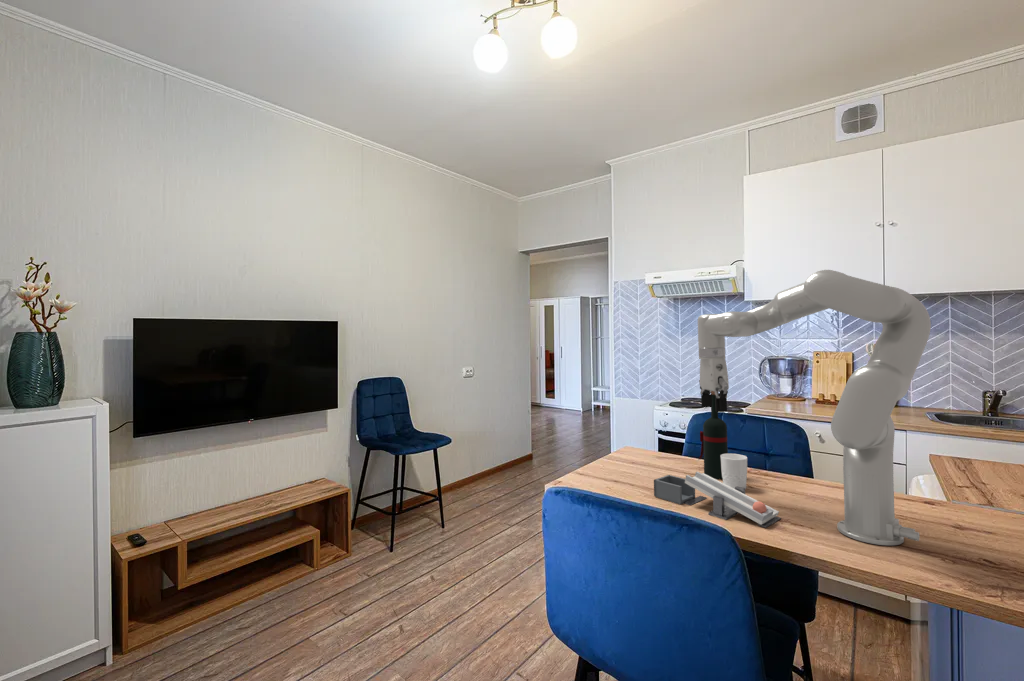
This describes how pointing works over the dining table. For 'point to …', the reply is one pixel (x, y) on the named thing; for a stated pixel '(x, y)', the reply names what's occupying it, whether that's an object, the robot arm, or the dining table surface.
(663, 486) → the grey open cubby box
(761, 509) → the ball
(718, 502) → the stand
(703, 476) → the seesaw
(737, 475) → the white cup
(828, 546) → the dining table surface
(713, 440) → the wine bottle
